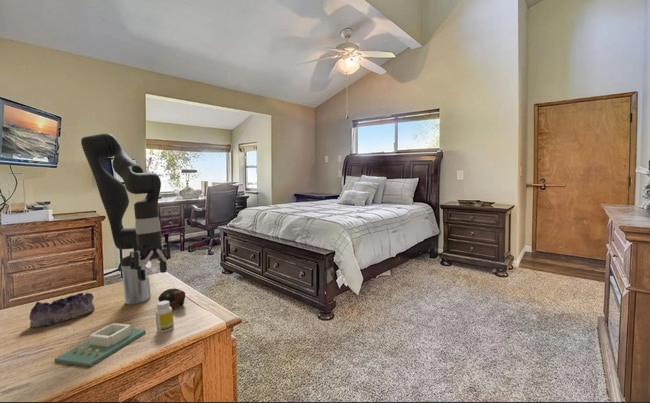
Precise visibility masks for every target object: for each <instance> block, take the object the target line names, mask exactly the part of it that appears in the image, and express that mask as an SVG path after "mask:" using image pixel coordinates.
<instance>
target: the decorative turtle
mask: <svg viewBox="0 0 650 403" xmlns="http://www.w3.org/2000/svg"><path fill="white" fill-rule="evenodd" d="M157 299H158V301H159V302H161V301H169V303H170V305H169V306H170V307H171V308H172V311H174V310H175V309H176V307H177V306H181V307H182V306H183V305H184V304H185V299H186V292H185V291H184V290H182V289H180V288H169V289H166V290H164V291H162V292H161V293H160V294H159V296H158V298H157ZM159 302H158V303H159Z"/></svg>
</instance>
